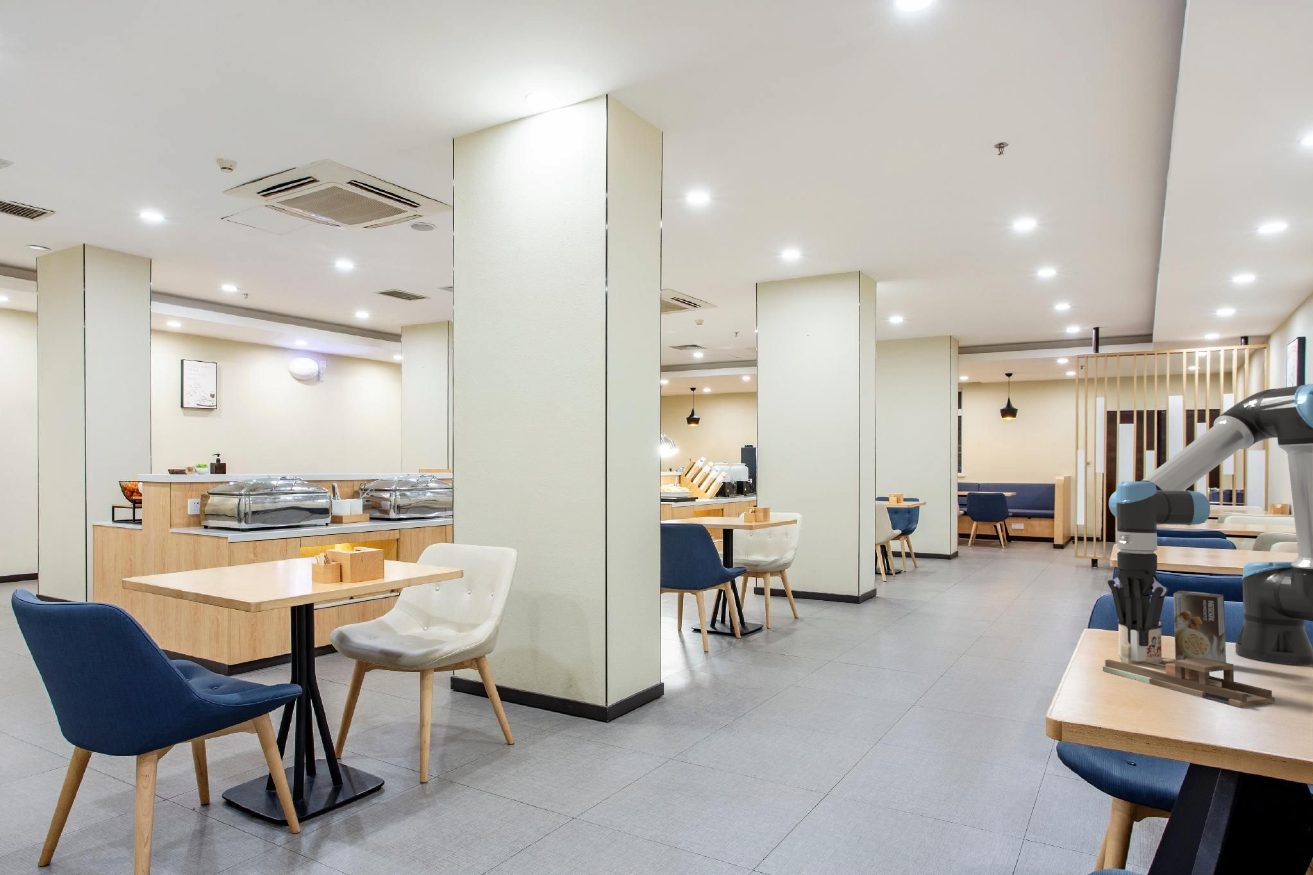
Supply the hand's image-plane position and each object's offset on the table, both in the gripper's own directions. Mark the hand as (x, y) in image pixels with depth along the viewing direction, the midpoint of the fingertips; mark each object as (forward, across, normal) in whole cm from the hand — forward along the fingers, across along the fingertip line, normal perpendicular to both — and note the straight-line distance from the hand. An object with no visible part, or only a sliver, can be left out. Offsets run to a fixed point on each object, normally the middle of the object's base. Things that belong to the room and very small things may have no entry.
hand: (1138, 660), depth 173 cm
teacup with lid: (+3, -11, +15) cm, 19 cm away
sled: (+2, +7, 0) cm, 7 cm away
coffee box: (+3, -4, +25) cm, 25 cm away
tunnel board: (+3, +10, 0) cm, 10 cm away
